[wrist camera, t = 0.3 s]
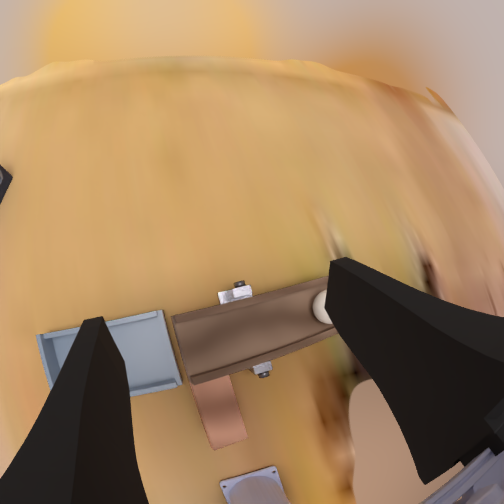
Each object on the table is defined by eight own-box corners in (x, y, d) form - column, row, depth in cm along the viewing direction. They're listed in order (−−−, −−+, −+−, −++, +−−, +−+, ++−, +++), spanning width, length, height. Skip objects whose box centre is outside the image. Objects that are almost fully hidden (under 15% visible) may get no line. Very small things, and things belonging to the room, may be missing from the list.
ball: (337, 319, 37) (357, 316, 33) (311, 328, 35) (330, 328, 31) (329, 288, 37) (348, 283, 33) (302, 296, 36) (321, 292, 32)
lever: (351, 383, 37) (367, 385, 34) (211, 446, 28) (220, 457, 25) (325, 276, 39) (340, 272, 36) (170, 316, 30) (176, 314, 27)
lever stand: (269, 364, 37) (282, 371, 32) (239, 373, 36) (248, 382, 31) (247, 282, 39) (257, 276, 33) (216, 290, 38) (221, 285, 32)
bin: (182, 380, 34) (182, 388, 31) (67, 400, 30) (56, 408, 26) (163, 310, 36) (160, 309, 32) (49, 333, 32) (35, 335, 28)
